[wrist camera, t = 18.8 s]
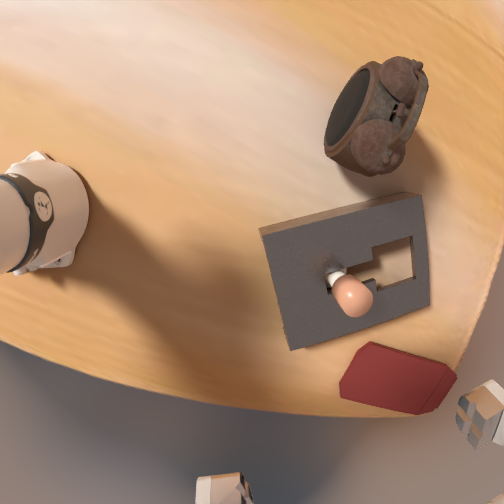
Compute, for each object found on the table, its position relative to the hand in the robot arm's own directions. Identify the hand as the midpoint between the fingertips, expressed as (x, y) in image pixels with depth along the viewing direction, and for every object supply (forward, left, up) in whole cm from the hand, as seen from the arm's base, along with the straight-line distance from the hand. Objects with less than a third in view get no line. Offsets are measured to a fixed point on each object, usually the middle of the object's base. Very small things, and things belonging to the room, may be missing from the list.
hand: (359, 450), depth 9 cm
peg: (+9, -9, -39) cm, 41 cm away
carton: (+10, -28, -40) cm, 50 cm away
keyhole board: (+12, -9, -39) cm, 42 cm away
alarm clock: (+16, +12, -39) cm, 44 cm away
